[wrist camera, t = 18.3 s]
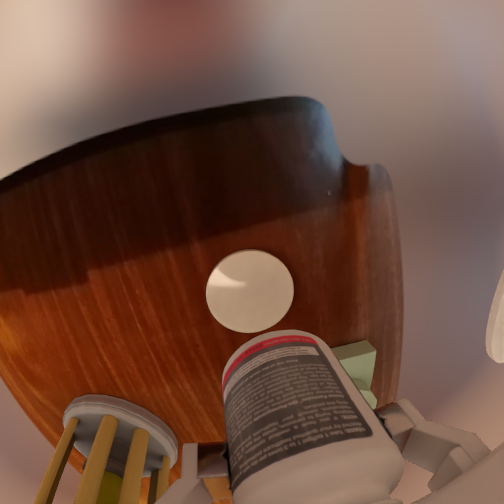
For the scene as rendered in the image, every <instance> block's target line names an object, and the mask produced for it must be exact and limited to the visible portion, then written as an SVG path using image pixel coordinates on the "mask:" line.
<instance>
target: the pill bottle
mask: <svg viewBox="0 0 504 504" xmlns="http://www.w3.org/2000/svg"><path fill="white" fill-rule="evenodd" d="M222 392H223V404H224V415H225V428H226V439H227V449H228V462H229V470H230V479H231V493H232V500H233V504H403V503H402V501H401V500H398V499H391V498H390V496H389V495H390V494H391V493H392V491H393V490H394V489H395V488H396V486H397V485H398V483H399V481H400V479H401V477H402V474H403V469H404V462H403V457H402V455H401V452H400V451H399V448H398V446H397V445H396V443H395V442H394V441H393V439H392V438H391V436H390V435H389V433H388V432H387V431H386V429H385V427H384V424H383V423H382V421H381V420H380V419H379V418H378V417H377V416H376V414H375V413H374V411H373V410H372V408H371V407H370V405H369V404H368V402H367V401H366V399H365V398H364V397H363V395H362V394H361V392H360V390H359V389H358V387H357V386H356V385H355V383H354V382H353V380H352V379H351V377H350V376H349V374H348V373H347V372H346V370H345V369H344V367H343V366H342V364H341V363H340V361H339V360H338V358H337V357H336V356H335V354H334V353H333V352H332V350H331V349H330V348H329V346H328V345H327V344H326V343H325V342H324V341H322V340H321V339H320V338H318V337H317V336H315V335H313V334H310V333H307V332H303V331H299V330H282V331H274V332H268V333H265V334H262V335H259V336H257V337H255V338H253V339H252V340H250V341H248V342H247V343H245V344H243V345H242V346H241V347H240V348H239V349H238V350H236V352H235V353H234V354H233V355H232V356H231V358H230V359H229V360H228V362H227V364H226V367H225V369H224V372H223V378H222Z"/></svg>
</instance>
